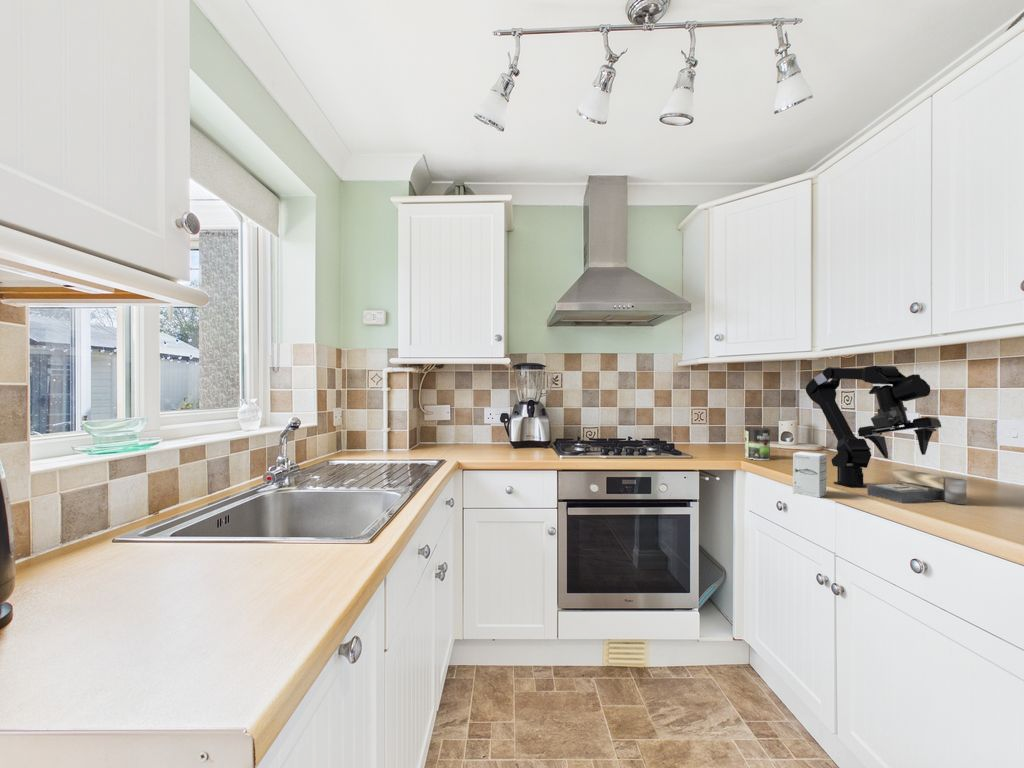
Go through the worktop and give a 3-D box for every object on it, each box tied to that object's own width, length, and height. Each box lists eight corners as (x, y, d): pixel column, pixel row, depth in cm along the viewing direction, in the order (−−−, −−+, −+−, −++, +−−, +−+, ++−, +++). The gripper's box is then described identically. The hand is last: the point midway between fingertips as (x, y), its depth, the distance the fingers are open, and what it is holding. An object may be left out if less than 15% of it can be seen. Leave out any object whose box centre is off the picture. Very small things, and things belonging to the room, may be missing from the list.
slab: (867, 494, 136) (867, 483, 136) (919, 491, 140) (919, 481, 140) (901, 503, 127) (901, 491, 127) (956, 499, 131) (956, 488, 131)
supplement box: (791, 493, 137) (791, 453, 138) (800, 490, 142) (800, 450, 142) (819, 498, 132) (819, 455, 132) (827, 494, 137) (827, 453, 137)
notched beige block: (970, 503, 125) (970, 480, 125) (958, 504, 124) (958, 481, 124) (903, 489, 142) (903, 469, 142) (892, 490, 141) (892, 469, 141)
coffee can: (775, 460, 200) (775, 429, 201) (755, 461, 198) (755, 429, 198) (758, 456, 211) (758, 427, 211) (739, 457, 208) (739, 427, 209)
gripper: (842, 409, 140) (853, 459, 136) (913, 395, 124) (929, 451, 119) (863, 411, 144) (875, 460, 140) (934, 398, 128) (950, 453, 124)
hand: (904, 456), depth 131 cm, fingers open, 9 cm apart
